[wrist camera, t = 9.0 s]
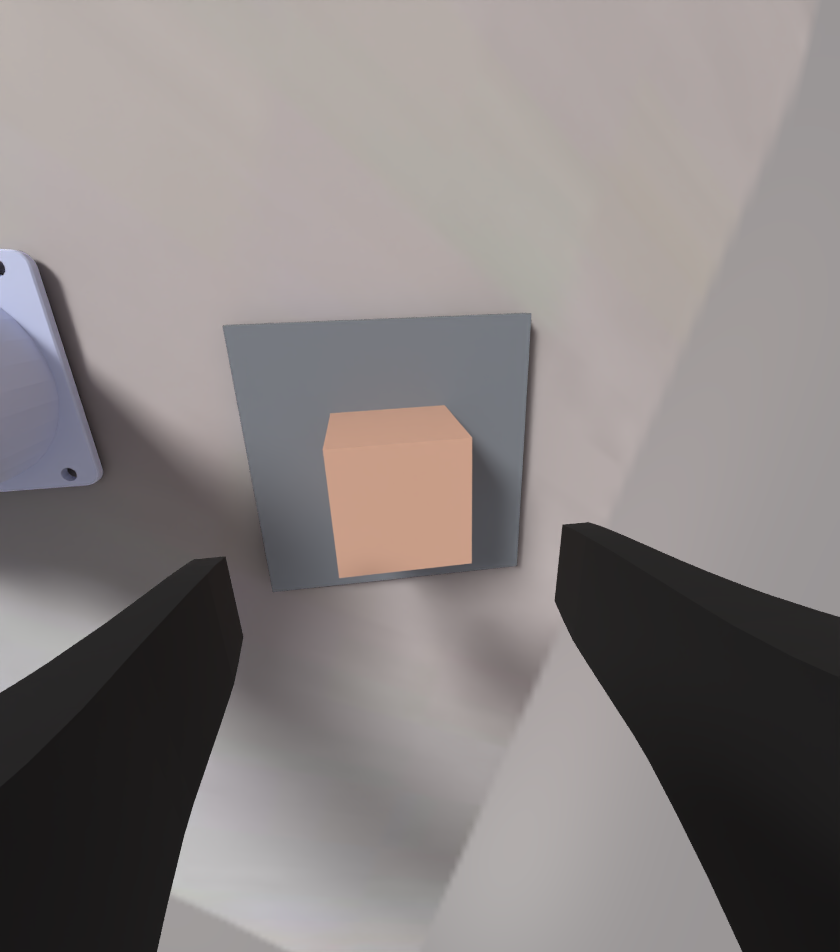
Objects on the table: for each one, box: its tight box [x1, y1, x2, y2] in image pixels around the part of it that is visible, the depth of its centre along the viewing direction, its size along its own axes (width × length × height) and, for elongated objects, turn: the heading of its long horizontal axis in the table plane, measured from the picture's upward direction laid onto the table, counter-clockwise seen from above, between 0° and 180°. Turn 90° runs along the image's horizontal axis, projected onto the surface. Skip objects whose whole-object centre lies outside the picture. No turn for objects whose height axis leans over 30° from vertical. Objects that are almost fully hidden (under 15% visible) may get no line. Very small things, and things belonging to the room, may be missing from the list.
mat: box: [223, 313, 531, 592], centre depth 18 cm, size 11×11×1 cm
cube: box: [323, 405, 472, 578], centre depth 16 cm, size 4×4×4 cm
